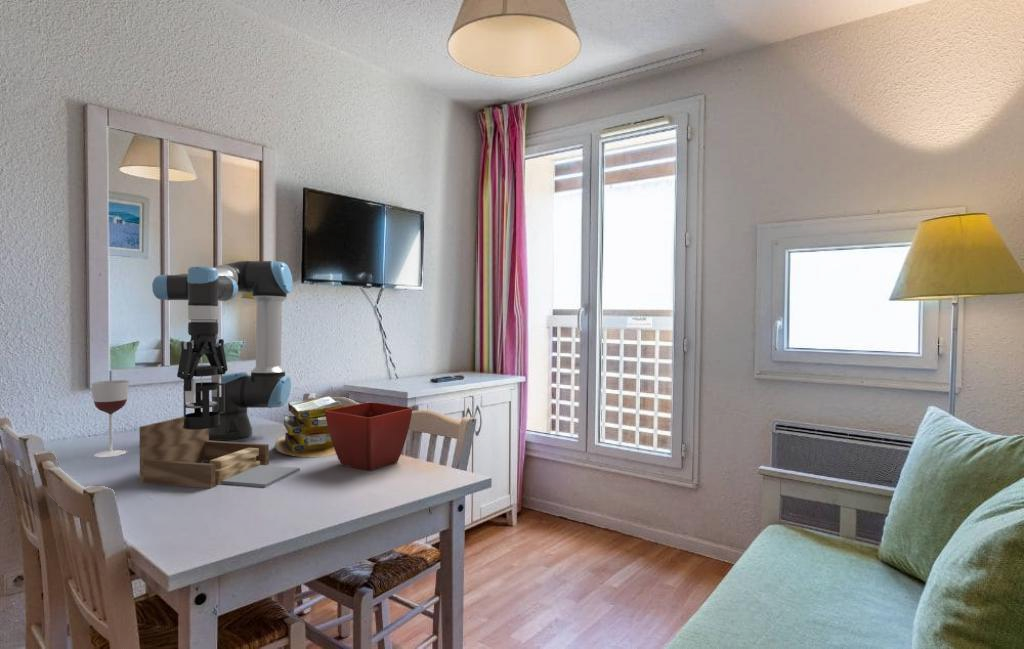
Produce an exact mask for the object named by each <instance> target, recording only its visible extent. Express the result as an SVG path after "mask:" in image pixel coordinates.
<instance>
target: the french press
mask: <svg viewBox="0 0 1024 649" xmlns="http://www.w3.org/2000/svg"><path fill="white" fill-rule="evenodd" d="M207 348H209V346H207ZM218 368H219V366H211V365H210V364H203V356H202V357H201V358H200V365H199V364H198V366H197V368H196V369H195V370H196V371H195V374H194V376H193V377H194V378H195V377H196V378H198V377H200V382H195V383H196V402H195V403H187V402H185V391H184V384H183V387H182V388H183V391H182V392H183V393H182V394H183V395H182V396H183V417H184V425H183V428H184V429H190V430H198V429H208V428H214V427H217V426H219V425H220V422H219V414H226V413H227V385H226V384H225V383H215V382H211V381H210V382H206V381H203V377H211V376H213V375H217V369H218ZM219 385H224V412H219ZM216 389H217V402H214V401H212V400H211V401H210V391H211V390H216ZM214 406H217V412H212V411H210V408H212V407H214ZM187 409H194V411H193V412H190V413H187Z"/></svg>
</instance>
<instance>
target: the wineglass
mask: <svg viewBox="0 0 1024 649" xmlns="http://www.w3.org/2000/svg"><path fill="white" fill-rule="evenodd" d="M129 387H130V381H129V380H125V379H123V380H104V381H103V380H102V381H96V382H91V394H92V401H93V404H94V406H95V408H96V409H98V410H99V411H101V412H104V413H105V414H108V431H109V432H108V442H109V443H108V444H109V446H108V447H109V448H108V449H109V450H105V451H102V452H99V453H98V452H97V453H95V454H94V455H93V456H94V458H95V457H96V458H109V457H111V458H112V457H118V456H121V454H122V455H125V454H127V453H126V451H127V450H123V449H121V450H118V449H117V450H113V448H114V446H113V444H114V443H113V440H114V439H113V436H114V435H113V432H114V430H113V414H114V413H116V412H117V411H119V410H121V409H122V408H124V406H125V405H126V404H127V401H128V396H129V389H130V388H129ZM122 450H123V451H122Z"/></svg>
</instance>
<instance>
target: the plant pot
mask: <svg viewBox="0 0 1024 649" xmlns="http://www.w3.org/2000/svg"><path fill="white" fill-rule="evenodd" d="M412 414H413V407H409V406H403V405H402V406H401V405H396V404H389V403H382V402H381V403H380V402H374V401H368V402H362V403H359V404H358V403H356V404H352V405H346V406H344V407H340V408H335V409H330V410H325V415H326V421H327V425H328V430H329V433H330V437H331V440H332V443H333V446H334V449H335V452H336V454H335V455H336V456H337V459H338V461H339V464H340V465H342V466H345V467H346V466H347V467H351V468H354V469H355V468H356V469H360V470H363V471H372V470H376V469H378V468H381V467H384V466H387V465H391V464H393V463H396V462H398V461H399V459H400V458H401V454H402V451H403V449H404V446H405V443H406V440H407V436H408V432H409V429H410V424H411V420H412V416H413V415H412Z"/></svg>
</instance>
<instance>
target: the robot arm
mask: <svg viewBox="0 0 1024 649" xmlns="http://www.w3.org/2000/svg"><path fill="white" fill-rule="evenodd" d="M293 285H294V284H293V276H292V271H291V270H290V267H289V265H288V264H287V263H285V262H283V261H275V260H263V261H262V260H261V261H260V260H259V261H257V260H251V261H250V260H241V261H235V262H230V263H225V264H220V265H219V264H218V265H217V266H215V267H213V266H191V267H189V268H188V269H187V272H186V273H181V274H180V273H179V274H159V275H156V277H154V278H153V281H152V285H151V287H152V292H153V295H154V296H155V298H156V299H158V300H160V301H161V300H162V301H187V314H188V315H187V316H188V317H187V319H188V321H189V322H188V323H187V333H188V335H189V336H190V340H189V341H181V343H180V346H181V347H180V348H181V352H180V357H179V364H178V367H177V372H176V373H177V374H176V376H177V378H180V380H183V385H184V391H185V402H186V404H188V403H195V402H196V383H197V382H196V379H195V378H194V377H195V376H194V374H195V371H196V370H195V369H196V368H197V366H198V365H199V362H200V361H201V357H202V358H203V357H204V356H206V359H207V361H208V363H209V365H211V366H219V368H218V369H217V375H213V376H210V377H211V381H210V382H215V383H225V384H226V385H227V413H226V414H219V422H220V425H219V426H217V427H214V428H209V441H228V440H229V441H231V440H232V441H233V440H239V439H244V438H247V437H251V436H252V435H253V427H252V425H251V421H250V419H249V418H250V417H249V415H248V408H249V409H252V408H253V409H257V408H258V409H259V408H260V409H265V408H266V409H276V408H282V407H283V406H285V404H286V403H287V402H288V399H289V397H290V393H291V387H292V382H291V378H290V376H288V375H286V370H285V369H284V368H283V367H282V324H283V323H282V322H283V320H282V318H283V302H284V301H285V300H286V299H287V297H288V296H287V295H288V294H290V293H291V292H292V290H293ZM238 292H239V293H251V294H252V298H253V299H254V300H255V301H256V330H255V331H256V335H255V336H256V337H255V338H256V340H255V342H256V343H255V367H254V368H253V369H252V370H250V375H248V372H247V371H240V372H230V373H227V372H228V365H227V359H226V354H225V348H224V345H225V344H224V343H225V341H224V339H223V338H220V339H219V338H217V337H216V335H219V323H218V321H217V320H218V319H219V301H220V302H227V301H230V300H232V299H234V298H235V297H236V296H237V295H238ZM207 346H209V348H207ZM210 391H211V392H210V393H211V401H214V402H217V389H216V390H210ZM211 412H217V406H214V407H211ZM219 412H224V385H219Z"/></svg>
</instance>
